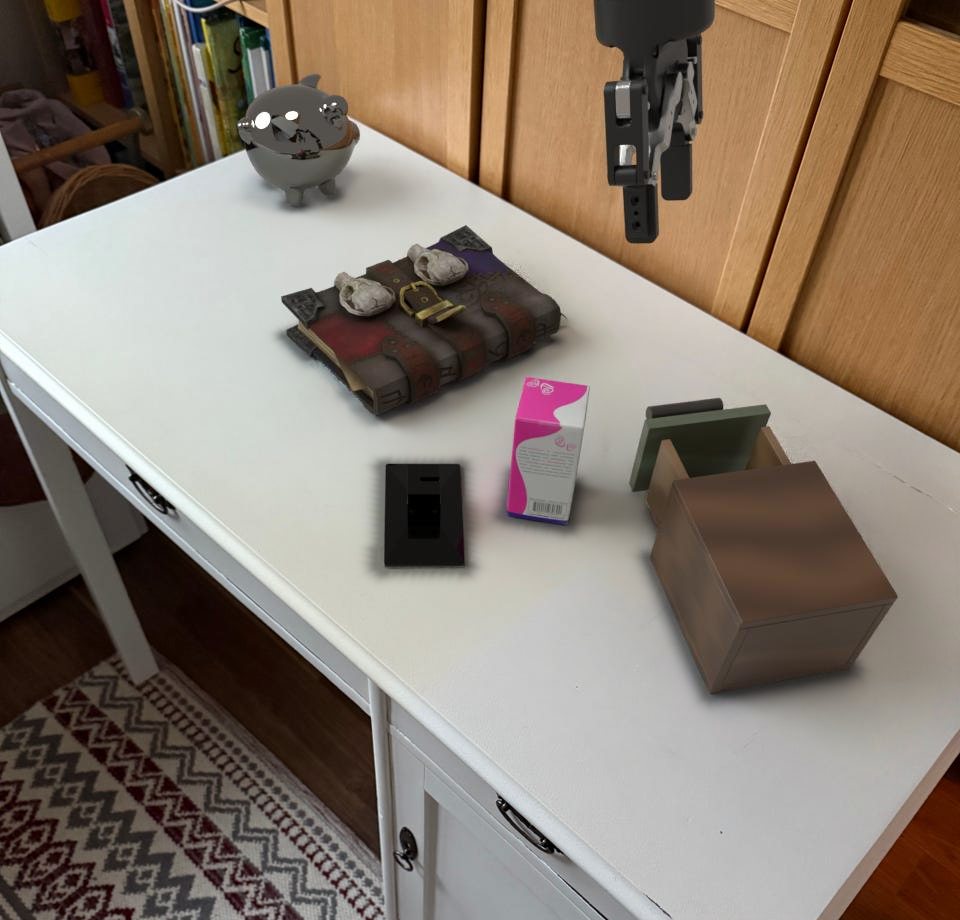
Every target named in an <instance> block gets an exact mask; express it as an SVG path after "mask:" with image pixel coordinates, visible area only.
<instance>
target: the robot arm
mask: <svg viewBox="0 0 960 920" xmlns="http://www.w3.org/2000/svg"><path fill="white" fill-rule="evenodd" d="M592 3H593V14H594V29H595V38H596V40H597V42H598V43H599V44H600V45H601V46H603V47H606V48H610V49H613V48H617V49H619V50H620V51H621V53H622V56H623V60H622V74H621V76H620V78H619V80H612V81H606V82H605V84H604V86H603V106H604V127H605V129H604V130H605V131H604V132H605V150H606V151H605V152H606V172H607V173H606V179H607V183H608V186H609V187H618V188H622V203H623V218H624V219H623V220H624V237H625V240H626V241H627V243H629V244H631V245H632V244H636V245H637V244H639V245H641V244H645V245H646V244H647V245H649V244H652V243H654V242H655V241H656V240H657V238H658V237H659V235H660V222H659V219H660V218H659V191H658V190H659V189H658V180H659V173H660V195H661V198H662V200H664V201H667V202H668V201H669V202H670V201H675V202H676V201H687V200H688V199H689V198H690V197H691V196H692V194H693V189H694V188H693V143H690V142H694V141H695V140H696V136H697V134H698V127H697V125H701V124H702V121H703V119H704V109H703V108H704V107H703V101H704V100H703V51H702V45H703V35H702V33H704V32H706V31H707V30H708V29H710V27H711V26H712V25H713V23H714V21H715V17H716V0H593V2H592ZM634 155H635V164H633V156H634ZM659 171H660V172H659Z"/></svg>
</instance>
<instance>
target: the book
mask: <svg viewBox="0 0 960 920" xmlns="http://www.w3.org/2000/svg"><path fill="white" fill-rule="evenodd" d="M280 299H281V303H282V304H283V306H285V307H286V308H287V310H288V311H289V312H290V313H291V314H292V315H293V316H294V317H295V318H296V319H297V320H298V323H297V324H296V325H293V326H292V327H289V328H287V329H286V330H285V333H286V337H288V338H289V339H290V340H291V341H292V342H293V343H295V345H297V347H298V348H300V349H301V350H302V351H303V352H304V354H306V355H308V357H312V356H314V357H315V358H316V359H318V360H319V362H321V363H322V364H323V365H324V366H325V367H326V368H327V369H328V370H329V371H330V372H331V373H332V374H333V375H334V376H335V377H336V378H337V379H338V380H339V381H340V382H341V383H342V384H343V385H344V386H345V387H346V388H348V390H349V391H350V392H352V394H353V395H354V396H355V397H356V398H358V400H359V401H360V403H361V404H362V405H363V407H364V408H365V409H366V410H367V411H368V412H369V413H370V414H372V415H374V416H378V415H380V414H382V413H385V412H388V411H390V410H391V409H393V408H396V407H398V406H400V405H403V404H404V405H407V406H410V405H413V404H414V403H416V402H419V401H421V400H423V399H426V398H428V397H429V396H431V395H433V394H436V393H437V392H438V391H439V390H440V389H441V387H442V386H444V385H445V384H449V383H451V382H452V381H455V382H460V381H462V380H465V379H466V378H468V377H471V376H473V375H475V374H478V373H480V372H482V371H483V370H484V369H485V368H486V367H487V365H490V364H491V363H493V362H495V361H498V360H502V361H506V360H509V359H511V358H514V357H515V356H517V355H520V354H523V353H524V352H526V351H529V350H531V349H532V348H533V346H534V345H535V343H537V342H540V341H542V340H544V339H546V338H548V337H551V336H553V335H555V334H556V333H558V331H560V327H561V320H562V316H563V317H564V318H565V319H566V321H568V319H567V316H565V314H564V313H562V312H561V308H560V305H559V304H558V303H557V301H556V300H555V299H554V298H553V297H551V295H549V294H547V293H543V292H541V291H540V290H539V289H537V288H536V287H535V286H534V285H532V284H531V283H529V282H528V281H527V280H526V279H524V278H523V277H522V276H521V275H520V274H518V273H517V272H515V271H514V270H513V269H512V268H511V267H510V266H508V265H507V264H506V263H504V262H503V261H502V260H501V259H499V258H498V257H497V255H495V254H494V252H493V247H492V246H491V245H490V244H488V242H486V240H484V239H483V238H482V237H480V235H478V234H477V233H476V232H475V231H473V230H472V229H471V228H470V227H469V226H468V225H466V224H465V225H463V226H461V227H459V228H457V229H455V230H453V231H451V232H449V233H447V234H445V235H443V236H441V237H439V240H438V241H437V242H436V243H434V244H431V245H429V246H427V247H424V246H421V244H419V243H415V244H412V245H411V246H410V247H409V249H408V250H407V252H406V256H404V257H402V258H400V259H398V260H396V261H393V262H392V261H391V260H390V259H386V260H383V261H381V262H379V263H375V264H373V265H370V266H368V267H365V274H364V273H363V274H361V275H358V276H357V277H354V276H352V275H350V274H348V273H347V272H346V271H342V272H340V273H337V276H335V278H334V281H333V286H331V287H328V288H325V289H323V290H321V291H315V290H314V289H313V287H309V288H305V289H302V290H299V291H295V292H291V293H288V294H285V295H282V296H280Z"/></svg>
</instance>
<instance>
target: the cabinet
mask: <svg viewBox="0 0 960 920" xmlns="http://www.w3.org/2000/svg"><path fill="white" fill-rule="evenodd" d="M657 528H658V527H657ZM649 559H650V561H651V563H652V565H653V568H654V570H655V572H656V575H657V578H658V579H659V582H660V584H661V586H662V589H663V591H664V593H665V596H666V598H667V600H668V602H669V604H670V607H671V609H672V611H673V613H674V616H675V618H676V621H677V623H678V625H679V627H680V630H681V632H682V634H683V636H684V639H685V641H686V643H687V646H688V648H689V651H690V653H691V655H692V657H693V659H694V661H695V664H696V666H697V668H698V671H699V673H700V676H701V679H702V680H703V682H704V684H705V687H706V689H707V691H708V694H715V693H720V692H725V691H732V690H736V689H741V688H747V687H752V686H759V685H763V684H769V683H774V682H780V681H785V680H791V679H796V678H803V677H807V676H813V675H818V674H825V673H829V672H836V671H841V670H846V669H851V668H852V667H853V665H854V664H855V662H856V661H857V659H858V657H859V656H860V655H861V653H862V652H863V650H864V649H865V647H866V645H867V644H868V643H869V641H870V640H871V638H872V637H873V636H874V634H875V633H876V631H877V630H878V628H879V627H880V625H881V624H882V622H883V621H884V619H885V617H886V616H887V614H888V613H889V611H890V610H891V609H892V607H893V605H894V603H896V601H897V600H898V598H899V595H898V593H897V592H896V590H895V588H894V587H893V586H892V584H891V582H890V581H889V579H888V577H887V576H886V574H885V572H884V571H883V569H882V568H881V566H880V563H878V561H877V559H876V558H875V556H874V555H873V553H872V551H871V550H870V547H868V545H867V543H866V541H865V540H864V539H863V536H862V535H861V533H860V532H859V530H858V527H856V525H855V523H854V522H853V520H852V518H851V517H850V515H849V513H848V512H847V511H846V508H845V507H844V505H843V504H842V502H841V501H840V499H839V497H838V495H837V494H836V493H835V490H834V489H833V488H832V486H831V485H830V483H829V481H828V479H827V477H826V476H825V474H824V473H823V471H822V470H821V468H820V466H819V465H818V463H817V461H816V460H810V461H803V462H794V463H791V464H787V465H780V466H773V467H766V468H758V469H751V470H744V471H737V472H730V473H722V474H715V475H708V476H701V477H694V478H686V479H679V480H674V481H673V483H672V486H671V489H670V492H669V495H668V499H667V502H666V505H665V509H664V512H663V515H662V518H661V522H660V525H659V528H658V529H657V532H656V535H655V539H654V542H653V545H652V547H651V551H650V555H649Z"/></svg>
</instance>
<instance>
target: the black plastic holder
mask: <svg viewBox="0 0 960 920" xmlns="http://www.w3.org/2000/svg"><path fill="white" fill-rule="evenodd" d="M384 477H385V481H384V483H385V485H384V537H383V538H384V539H383V540H384V541H383V545H382V546H381V547H380V562H381V563H382V565H383V566H384V567H385V568H389V569H390V568H392V569H393V568H394V569H395V568H396V569H397V568H400V569H401V568H464V567H465V566H466V558H465V538H464V535H465V534H464V517H463V515H464V514H463V495H462V494H463V493H462V473H461V465H460V464H459V463H386V464H385V476H384Z"/></svg>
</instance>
